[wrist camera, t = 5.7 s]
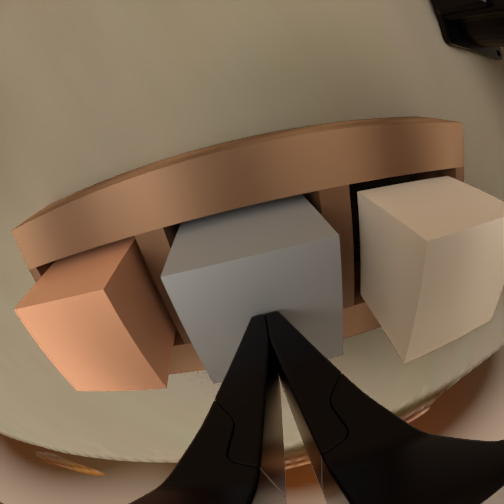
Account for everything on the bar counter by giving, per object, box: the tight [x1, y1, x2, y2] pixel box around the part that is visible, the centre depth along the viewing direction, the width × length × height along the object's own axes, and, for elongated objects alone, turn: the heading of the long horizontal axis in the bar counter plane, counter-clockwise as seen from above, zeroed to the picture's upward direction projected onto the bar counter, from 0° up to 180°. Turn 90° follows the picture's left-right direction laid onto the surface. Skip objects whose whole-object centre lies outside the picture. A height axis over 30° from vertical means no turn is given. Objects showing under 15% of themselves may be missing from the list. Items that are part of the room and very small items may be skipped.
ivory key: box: [357, 176, 504, 364], centre depth 9 cm, size 5×5×4 cm
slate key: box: [161, 194, 343, 383], centre depth 10 cm, size 5×5×4 cm
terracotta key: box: [14, 236, 176, 391], centre depth 11 cm, size 5×5×4 cm
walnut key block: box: [11, 117, 464, 374], centre depth 13 cm, size 21×10×4 cm, turn 102°
